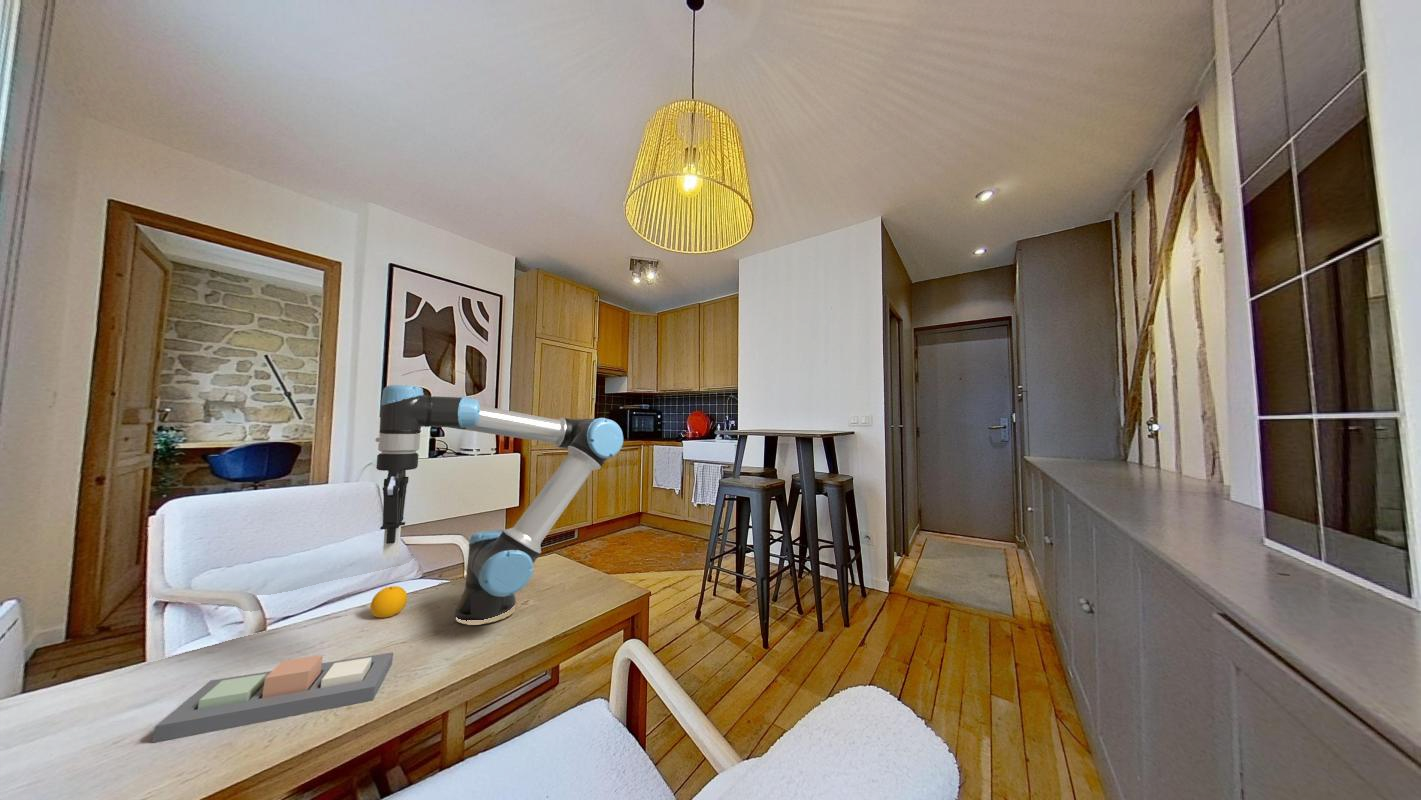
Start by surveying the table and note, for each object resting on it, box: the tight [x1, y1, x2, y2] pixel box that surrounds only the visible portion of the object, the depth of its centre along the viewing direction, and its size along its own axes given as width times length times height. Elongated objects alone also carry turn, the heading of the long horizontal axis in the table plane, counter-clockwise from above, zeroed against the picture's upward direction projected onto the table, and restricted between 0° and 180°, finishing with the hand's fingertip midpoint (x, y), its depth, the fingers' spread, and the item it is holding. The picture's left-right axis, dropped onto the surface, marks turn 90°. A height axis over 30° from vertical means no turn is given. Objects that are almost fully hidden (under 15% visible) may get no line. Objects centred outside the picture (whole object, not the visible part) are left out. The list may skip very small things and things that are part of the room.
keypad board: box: [152, 652, 394, 744], centre depth 76 cm, size 28×13×2 cm, turn 116°
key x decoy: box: [262, 654, 324, 698], centre depth 76 cm, size 6×6×4 cm
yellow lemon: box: [370, 585, 408, 619], centre depth 111 cm, size 8×8×8 cm
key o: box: [198, 674, 267, 709], centre depth 72 cm, size 6×6×4 cm
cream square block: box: [321, 657, 372, 688], centre depth 79 cm, size 6×6×4 cm
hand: (390, 556), depth 90 cm, fingers closed
